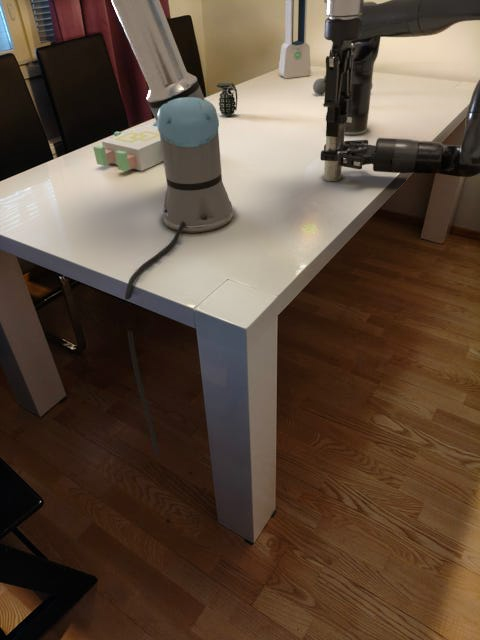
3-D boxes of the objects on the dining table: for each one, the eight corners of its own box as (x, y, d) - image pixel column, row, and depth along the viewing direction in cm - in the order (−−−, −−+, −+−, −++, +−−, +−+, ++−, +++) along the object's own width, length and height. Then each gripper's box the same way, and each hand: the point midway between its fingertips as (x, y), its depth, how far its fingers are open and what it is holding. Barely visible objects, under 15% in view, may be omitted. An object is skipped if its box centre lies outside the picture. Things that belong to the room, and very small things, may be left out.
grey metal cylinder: (328, 173, 124) (332, 112, 115) (343, 176, 122) (349, 114, 112) (320, 179, 121) (324, 117, 112) (335, 182, 119) (340, 119, 110)
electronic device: (283, 78, 209) (284, -5, 191) (278, 75, 215) (278, -6, 197) (310, 75, 212) (314, -8, 193) (304, 72, 217) (307, -9, 199)
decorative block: (148, 117, 149) (198, 126, 139) (151, 138, 153) (200, 148, 143) (82, 141, 133) (133, 153, 123) (87, 165, 137) (138, 178, 127)
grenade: (217, 117, 168) (214, 86, 162) (221, 112, 172) (219, 82, 166) (235, 117, 166) (233, 86, 160) (239, 113, 171) (238, 82, 165)
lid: (323, 123, 112) (324, 115, 111) (328, 117, 115) (329, 109, 114) (344, 124, 110) (344, 116, 109) (348, 118, 114) (349, 110, 113)
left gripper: (339, 11, 108) (332, 120, 122) (311, 22, 96) (307, 142, 110) (372, 11, 105) (361, 123, 119) (348, 23, 93) (339, 146, 107)
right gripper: (399, 130, 117) (328, 127, 121) (396, 150, 106) (318, 146, 111) (394, 160, 121) (326, 157, 126) (391, 183, 111) (316, 178, 115)
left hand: (335, 132), depth 115 cm, fingers closed on lid, 5 cm apart
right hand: (322, 151), depth 118 cm, fingers closed on grey metal cylinder, 4 cm apart
